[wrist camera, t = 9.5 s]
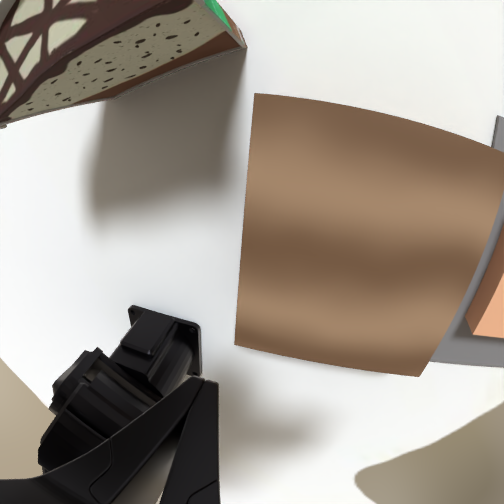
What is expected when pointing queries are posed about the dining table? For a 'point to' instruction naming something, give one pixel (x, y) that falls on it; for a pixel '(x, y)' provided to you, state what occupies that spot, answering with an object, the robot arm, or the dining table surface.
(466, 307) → the mat
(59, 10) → the food container
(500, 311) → the peach block
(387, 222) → the brown flat block
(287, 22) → the dining table surface
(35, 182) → the dining table surface
